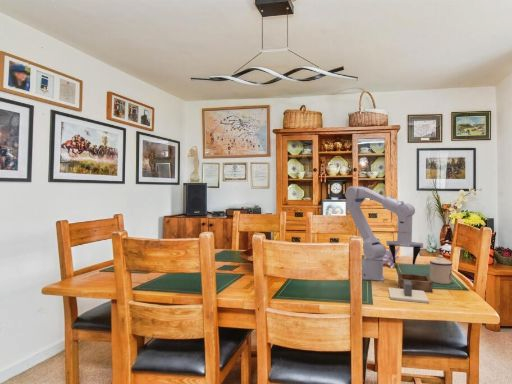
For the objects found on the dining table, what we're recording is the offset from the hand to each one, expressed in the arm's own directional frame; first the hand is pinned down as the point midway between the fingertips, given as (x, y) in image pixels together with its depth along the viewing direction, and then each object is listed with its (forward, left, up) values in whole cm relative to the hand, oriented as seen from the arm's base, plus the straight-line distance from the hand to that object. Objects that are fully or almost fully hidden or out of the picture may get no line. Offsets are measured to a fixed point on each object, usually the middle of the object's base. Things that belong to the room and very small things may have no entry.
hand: (403, 263), depth 154 cm
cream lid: (0, -17, -9) cm, 19 cm away
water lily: (-5, +38, -10) cm, 39 cm away
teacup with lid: (+16, +13, -10) cm, 23 cm away
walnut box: (+4, -2, -9) cm, 10 cm away
